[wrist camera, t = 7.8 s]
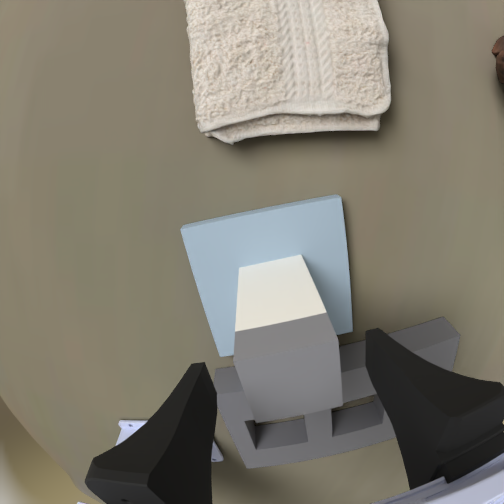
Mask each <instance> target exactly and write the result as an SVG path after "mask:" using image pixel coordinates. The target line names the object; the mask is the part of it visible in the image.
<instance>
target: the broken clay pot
mask: <svg viewBox="0 0 504 504" xmlns="http://www.w3.org/2000/svg"><path fill="white" fill-rule="evenodd" d="M492 53H493V54H494V55H497V57H496V71H497V75H498V78H499V81H500V82H501V83H504V36H502V37H500V38H499V39H498V40H497V41H496V43H495V45H494V47H493V49H492Z"/></svg>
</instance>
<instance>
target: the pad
mask: <svg viewBox="0 0 504 504" xmlns="http://www.w3.org/2000/svg"><path fill="white" fill-rule="evenodd" d="M181 233H182V237H183V240H184V244H185V247H186V251H187V254H188V258H189V261H190V264H191V268H192V271H193V274H194V278H195V281H196V284H197V288H198V291H199V294H200V297H201V300H202V304H203V307H204V310H205V313H206V316H207V319H208V322H209V325H210V328H211V331H212V334H213V337H214V340H215V343H216V346H217V349H218V352H219V355H220V357H223V356H230V355H234V340H235V323H236V307H237V292H238V276H239V268H241V267H246V266H250V265H255V264H260V263H264V262H269V261H273V260H278V259H283V258H287V257H292V256H296V255H302V257H303V259H304V262H305V264H306V266H307V268H308V271H309V273H310V275H311V277H312V280H313V282H314V284H315V286H316V289H317V291H318V293H319V296H320V298H321V300H322V303H323V305H324V307H325V309H326V312H327V314H328V317H329V319H330V321H331V324H332V326H333V328H334V331H335V333H336V335H340V334H344V333H348V332H352V331H353V326H352V305H351V289H350V275H349V263H348V252H347V242H346V232H345V224H344V215H343V207H342V200H341V197H340V196H339V195H337V194H336V195H330V196H325V197H319V198H313V199H308V200H303V201H297V202H292V203H287V204H282V205H276V206H271V207H266V208H261V209H256V210H251V211H246V212H242V213H237V214H232V215H227V216H223V217H218V218H213V219H209V220H204V221H199V222H195V223H190V224H186V225H183V227H182V228H181Z"/></svg>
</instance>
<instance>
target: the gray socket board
mask: <svg viewBox="0 0 504 504" xmlns="http://www.w3.org/2000/svg"><path fill="white" fill-rule="evenodd" d="M387 335H389V336H390V337H391V338H393V339H394V340H395V341H397V342H398V343H400V344H401V345H402V346H404V347H405V348H407V349H408V350H410V351H411V352H413V353H414V354H416V355H418V356H420V357H421V358H423V359H425V360H427V361H428V362H430V363H432V364H435V365H437V366H439V367H441V368H443V369H446V370H448V371H451V372H452V369H453V365H454V361H455V357H456V353H457V348H458V344H459V339H460V334H459V333H458V332H457V331H456V330H455V329H454V327H453V326H452V325H451V324H450V323H449V322H448V321H447V320H446V319H445V318H444V317H440V318H437V319H434V320H431V321H428V322H425V323H422V324H419V325H416V326H413V327H409V328H406V329H403V330H400V331H396V332H393V333H389V334H387ZM365 352H366V340H364V341H360V342H356V343H352V344H348V345H344V346H340V347H339V354H340V367H341V382H342V399H343V403H345V402H349V401H353V400H357V399H360V398H364V397H368V396H371V395H374V402H370V403H367V404H363V405H360V406H356V407H352V408H348V409H344V410H340V411H336V412H332V413H331V409H327V410H323V411H318V412H314V413H309V414H304V418H303V419H298V420H292V421H287V422H281V423H274V424H268V425H260V426H255V424H254V421H253V420H255V419H254V416H253V414H252V411H251V408H250V406H249V403H248V400H247V398H246V395H245V392H244V390H243V387H242V384H241V381H240V379H239V376H238V373H237V370H236V368H235V366H234V367H227V368H220V369H216V370H215V378H214V387H215V389H216V392H217V406H218V409H219V411H220V413H221V415H222V418H223V420H224V422H225V424H226V426H227V428H228V431H229V433H230V435H231V437H232V439H233V441H234V443H235V445H236V447H237V449H238V451H239V453H240V456H241V458H242V460H243V462H244V464H245V465H246V467H247V469H248V468H258V467H267V466H275V465H282V464H289V463H295V462H301V461H306V460H312V459H317V458H322V457H326V456H331V455H335V454H339V453H344V452H348V451H351V450H355V449H359V448H363V447H366V446H370V445H373V444H376V443H380V442H383V441H386V440H389V439H392V438H395V437H396V435H395V432H394V429H393V426H392V424H391V421H390V419H389V417H388V415H387V413H386V411H385V409H384V407H383V405H382V403H381V401H380V399H379V397H378V395H377V393H376V391H375V389H374V387H373V385H372V383H371V380H370V377H369V374H368V371H367V368H366V366H365Z"/></svg>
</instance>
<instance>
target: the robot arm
mask: <svg viewBox="0 0 504 504" xmlns="http://www.w3.org/2000/svg"><path fill="white" fill-rule="evenodd" d="M365 366H366V368H367V371H368V374H369V377H370V380H371V383H372V385H373V387H374V389H375V391H376V393H377V395H378V397H379V399H380V401H381V403H382V405H383V407H384V409H385V411H386V413H387V415H388V417H389V419H390V421H391V424H392V426H393V429H394V432H395V435H396V438H397V441H398V444H399V447H400V451H401V454H402V458H403V461H404V465H405V469H406V473H407V477H408V482H409V487H410V491H407V492H404V493H402V494H399V495H396V496H393V497H390V498H387V499H384V500H381V501H378V502H374V503H371V504H503V503H504V425H503V423H502V422H503V420H504V386H503V385H502V384H501V383H500V382H492V381H485V380H479V379H475V378H470V377H466V376H463V375H460V374H457V373H454V372H451V371H448V370H446V369H443V368H441V367H439V366H437V365H435V364H432V363H430V362H428V361H427V360H425V359H423V358H421V357H420V356H418V355H416V354H414V353H413V352H411V351H410V350H408V349H407V348H405V347H404V346H402V345H401V344H400V343H398V342H397V341H395V340H394V339H393V338H391V337H390V336H389V335H387V334H386V333H384V332H383V331H382V330H380V329H379V328H376V329H372V330H369V331H366V352H365ZM216 417H217V392H216V389H215V387H214V385H213V382H212V380H211V377H210V375H209V372H208V370H207V367H206V365H205V362H203V363H194V364H191V366H190V367H189V368H188V370H187V371H186V373H185V374H184V376H183V377H182V379H181V380H180V382H179V383H178V385H177V386H176V387H175V389H174V390H173V392H172V393H171V394H170V396H169V397H168V398H167V400H166V401H165V402H164V403H163V405H162V406H161V407H160V408H159V409H158V411H157V412H156V413H155V414H154V415H153V416H152V417H151V418H150V419H149V420H148V421H136V420H120V421H119V425H120V427H121V428H122V429H121V432H120V435H119V438H118V441H117V443H116V446H115V447H113V448H112V449H110V450H108V451H106V452H104V453H103V454H101V455H99V456H97V457H95V458H93V460H92V463H91V465H90V468H89V471H88V473H87V476H86V479H85V484H86V485H87V487H88V488H89V489H90V490H91V491H92V492H93V493H94V494H95V495H97V496H98V497H99V498H100V499H101V500H103V501H104V502H105V503H107V504H212V487H211V462H219V461H223V456H222V454H221V452H220V450H219V449H218V447H217V445H216V443H215V441H214V432H215V425H216ZM77 504H87V503H83V502H78V503H77Z"/></svg>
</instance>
